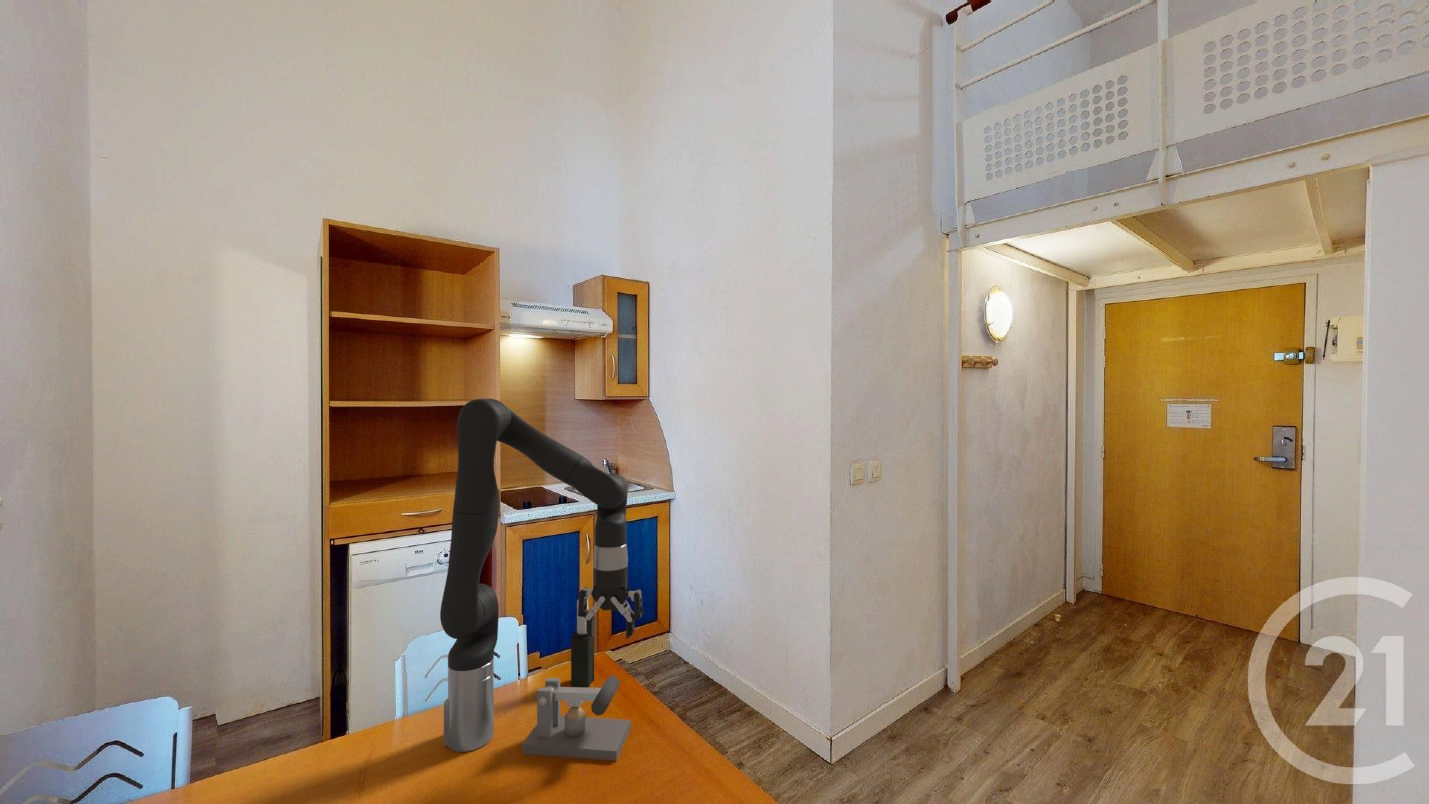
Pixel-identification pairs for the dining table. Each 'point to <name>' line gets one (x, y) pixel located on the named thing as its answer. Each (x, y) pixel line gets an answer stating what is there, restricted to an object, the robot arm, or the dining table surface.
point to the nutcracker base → (584, 745)
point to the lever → (588, 695)
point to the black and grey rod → (582, 655)
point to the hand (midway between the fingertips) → (610, 636)
